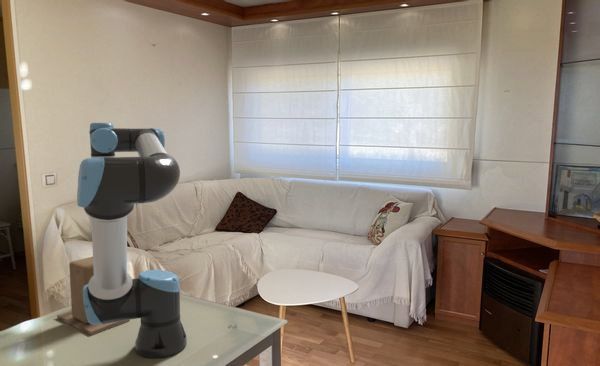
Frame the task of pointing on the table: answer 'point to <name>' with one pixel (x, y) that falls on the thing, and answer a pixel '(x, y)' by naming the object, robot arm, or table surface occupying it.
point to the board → (87, 324)
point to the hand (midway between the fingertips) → (106, 230)
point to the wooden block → (80, 285)
